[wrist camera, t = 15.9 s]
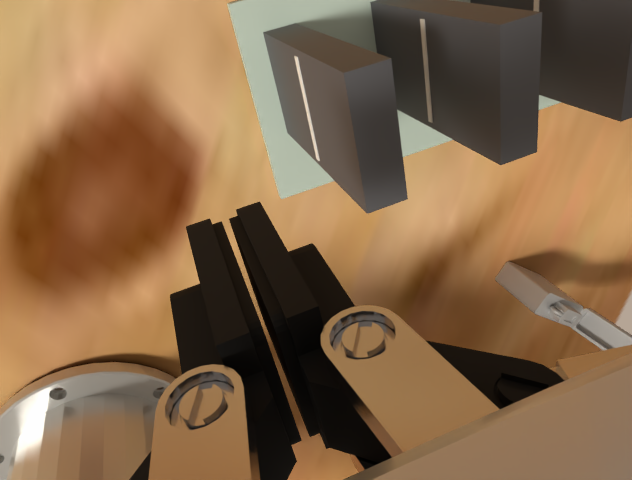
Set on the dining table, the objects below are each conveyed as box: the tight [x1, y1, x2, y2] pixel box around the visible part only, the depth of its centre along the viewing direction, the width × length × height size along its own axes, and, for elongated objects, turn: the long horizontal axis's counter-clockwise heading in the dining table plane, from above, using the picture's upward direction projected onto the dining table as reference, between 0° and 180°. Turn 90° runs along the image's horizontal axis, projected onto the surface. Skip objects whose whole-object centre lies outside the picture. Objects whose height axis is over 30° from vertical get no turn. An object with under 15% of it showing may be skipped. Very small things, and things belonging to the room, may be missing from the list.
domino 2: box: [370, 0, 542, 165], centre depth 22 cm, size 2×5×10 cm, turn 12°
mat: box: [227, 0, 561, 199], centre depth 28 cm, size 10×27×1 cm, turn 102°
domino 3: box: [470, 0, 632, 121], centre depth 23 cm, size 2×5×10 cm, turn 12°
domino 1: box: [263, 23, 408, 214], centre depth 21 cm, size 2×5×10 cm, turn 12°
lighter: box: [495, 261, 632, 350], centre depth 36 cm, size 7×2×8 cm, turn 60°
